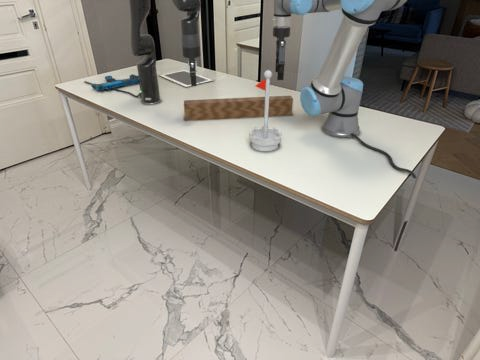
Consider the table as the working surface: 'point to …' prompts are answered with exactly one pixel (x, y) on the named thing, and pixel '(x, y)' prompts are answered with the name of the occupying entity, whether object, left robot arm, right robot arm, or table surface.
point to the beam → (236, 107)
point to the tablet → (184, 78)
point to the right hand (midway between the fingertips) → (279, 75)
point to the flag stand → (265, 123)
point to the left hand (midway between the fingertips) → (193, 82)
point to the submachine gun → (115, 82)
